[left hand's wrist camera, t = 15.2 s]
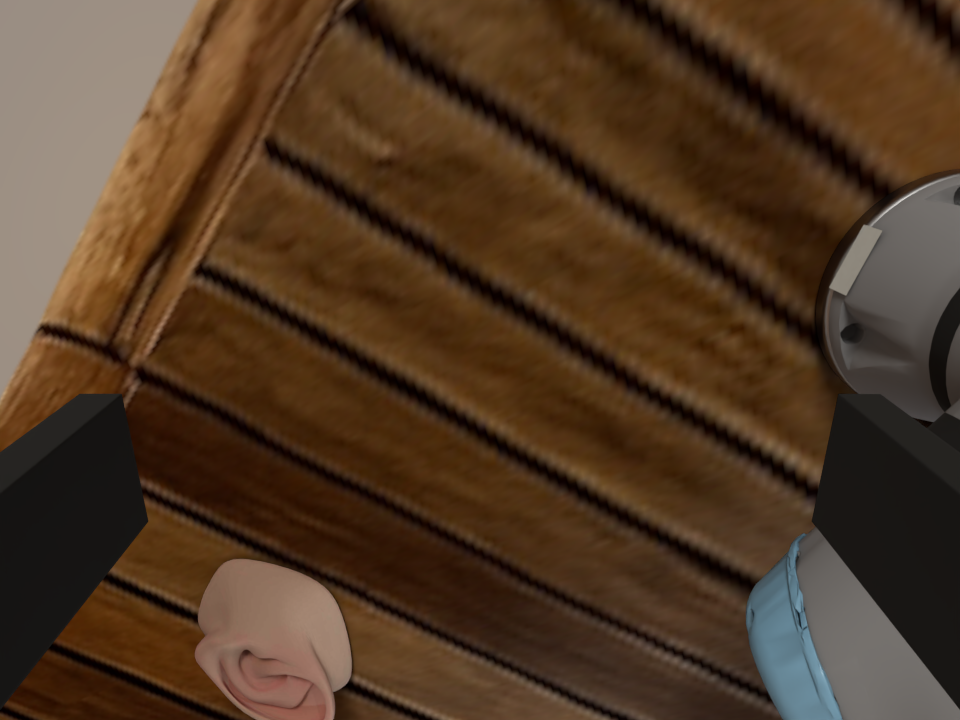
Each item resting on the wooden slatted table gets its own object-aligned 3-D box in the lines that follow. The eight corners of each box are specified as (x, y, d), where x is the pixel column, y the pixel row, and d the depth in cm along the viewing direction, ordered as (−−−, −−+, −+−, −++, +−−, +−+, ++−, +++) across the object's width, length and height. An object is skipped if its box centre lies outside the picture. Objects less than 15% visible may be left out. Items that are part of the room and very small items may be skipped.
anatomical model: (167, 592, 45) (339, 599, 46) (191, 555, 49) (349, 562, 49) (188, 737, 50) (343, 743, 50) (208, 693, 54) (353, 698, 54)
